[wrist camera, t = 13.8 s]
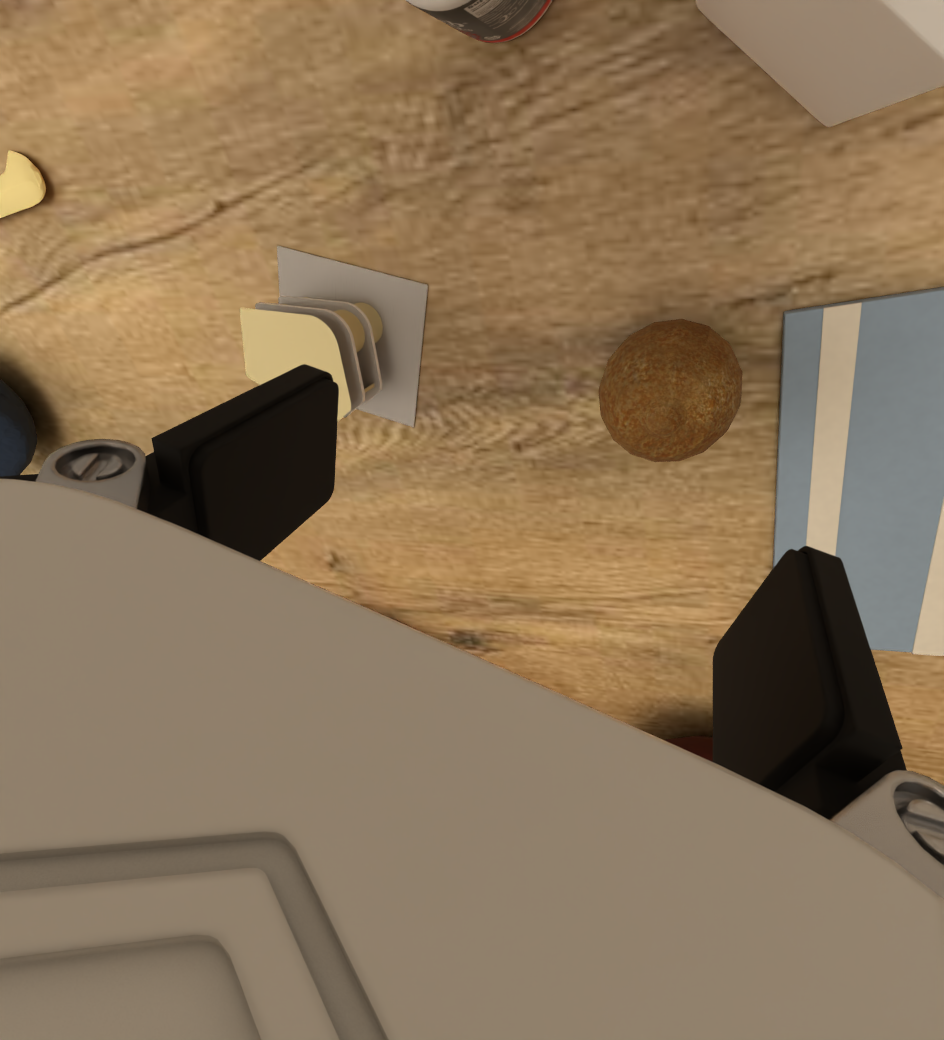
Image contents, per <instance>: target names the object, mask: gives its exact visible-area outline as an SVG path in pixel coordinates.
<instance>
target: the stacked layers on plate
mask: <svg viewBox="0 0 944 1040" xmlns="http://www.w3.org/2000/svg"><path fill="white" fill-rule="evenodd" d="M277 255H278V274H279V293H280V297H279V299H278V300H279V304H272V303H263V302H259V303H256V305H255V307H256V309H249V308H240V318H241V329H242V339H243V349H244V360H245V370H246V376H247V377H248V378H250V379H251V380H253V381H254V382H256V383H258V384H259V385H261V384H263V383H265V382H267V381H269V380H271V379H273V378H276V377H278V376H280V375H282V374H284V373H286V372H288V371H290V370H292V369H294V368H296V367H298V366H300V365H303V364H306V365H309V366H312V367H315V368H317V369H320V370H323V371H326V372H328V373H330V374H331V375H332V377H333V382H336V383H337V384H338V387H339V397H338V418H337V422H338V421H339V420H340V419H341V418H343V417H347V416H348V415H349V414H351V413H352V412H353V411H354V410H355V409H358V410H361V411H364V412H367V413H370V414H374V415H377V416H380V417H383V418H386V419H389V420H392V421H395V422H398V423H402V424H405V425H408V426H411V427H414V420H415V410H416V400H417V390H418V380H419V370H420V360H421V350H422V340H423V330H424V320H425V310H426V300H427V290H428V285H426V284H422V283H418V282H415V281H411V280H407V279H403V278H399V277H395V276H392V275H388V274H384V273H380V272H376V271H372V270H369V269H365V268H361V267H357V266H353V265H349V264H346V263H342V262H338V261H334V260H330V259H326V258H323V257H319V256H315V255H311V254H307V253H304V252H300V251H296V250H292V249H288V248H284V247H281V246H277Z"/></svg>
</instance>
